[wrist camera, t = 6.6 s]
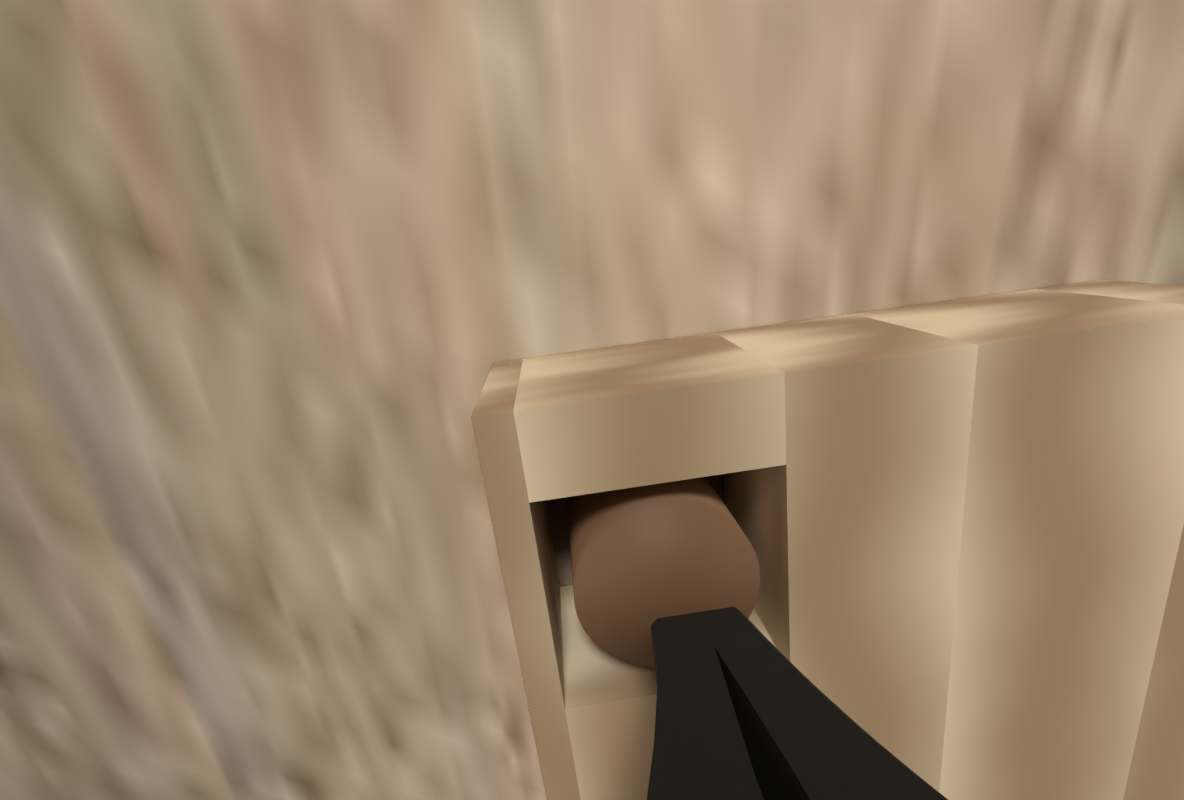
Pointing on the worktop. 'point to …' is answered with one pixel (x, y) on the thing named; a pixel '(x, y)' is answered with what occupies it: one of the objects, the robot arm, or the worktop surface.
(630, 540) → the walnut peg
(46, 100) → the worktop surface
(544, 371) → the maple board
